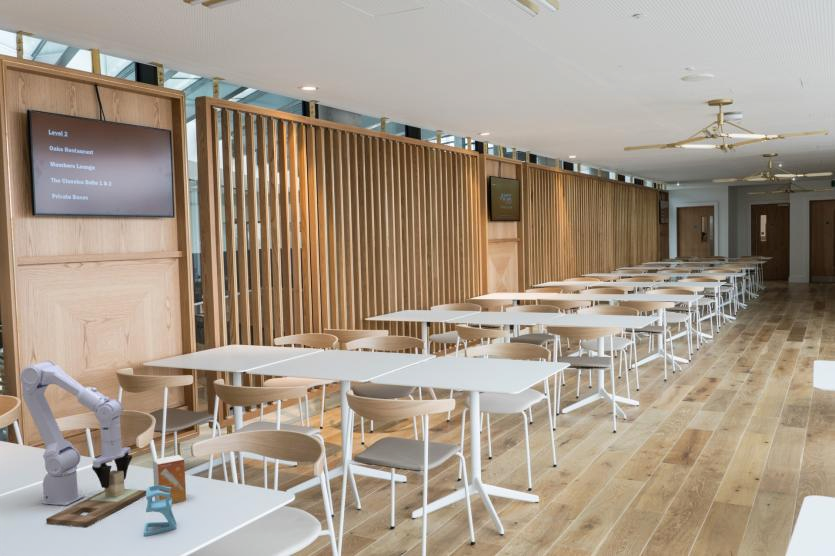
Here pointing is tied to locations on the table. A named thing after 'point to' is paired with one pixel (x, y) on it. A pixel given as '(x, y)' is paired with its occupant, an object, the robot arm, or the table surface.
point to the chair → (159, 509)
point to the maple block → (115, 484)
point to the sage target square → (113, 499)
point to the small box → (170, 477)
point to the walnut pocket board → (91, 510)
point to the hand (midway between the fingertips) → (113, 483)
